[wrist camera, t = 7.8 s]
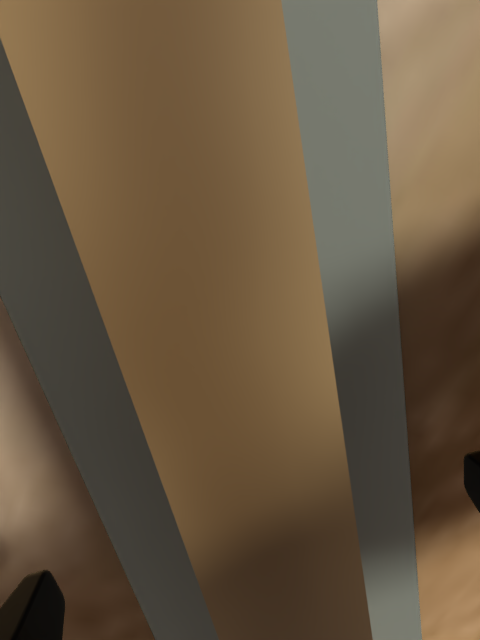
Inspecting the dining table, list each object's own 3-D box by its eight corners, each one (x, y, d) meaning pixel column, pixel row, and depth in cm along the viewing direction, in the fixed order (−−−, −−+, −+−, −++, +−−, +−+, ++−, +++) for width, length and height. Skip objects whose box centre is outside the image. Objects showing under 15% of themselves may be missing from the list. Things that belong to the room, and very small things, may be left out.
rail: (210, -114, 7) (236, -310, 4) (357, 698, 15) (398, 822, 12) (15, -76, 6) (-106, -252, 4) (274, 723, 15) (297, 854, 12)
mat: (345, -202, 7) (360, -234, 6) (417, 675, 16) (425, 694, 15) (-162, -108, 6) (-194, -133, 6) (208, 738, 16) (209, 760, 15)
